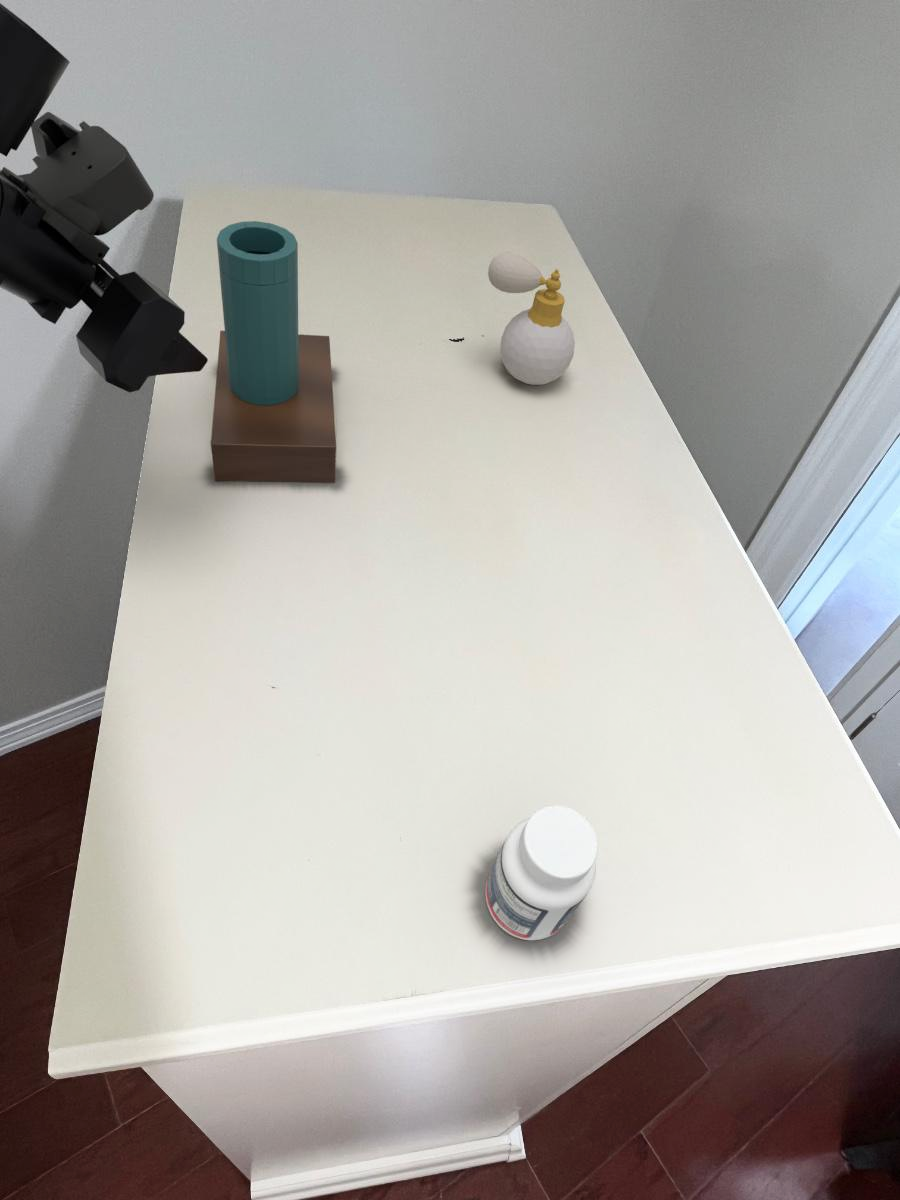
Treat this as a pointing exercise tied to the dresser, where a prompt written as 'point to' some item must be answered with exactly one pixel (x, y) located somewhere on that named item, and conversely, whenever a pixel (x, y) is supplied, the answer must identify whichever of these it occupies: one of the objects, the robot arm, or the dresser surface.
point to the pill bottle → (542, 873)
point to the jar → (260, 310)
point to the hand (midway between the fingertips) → (170, 332)
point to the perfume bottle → (533, 322)
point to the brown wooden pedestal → (277, 425)
